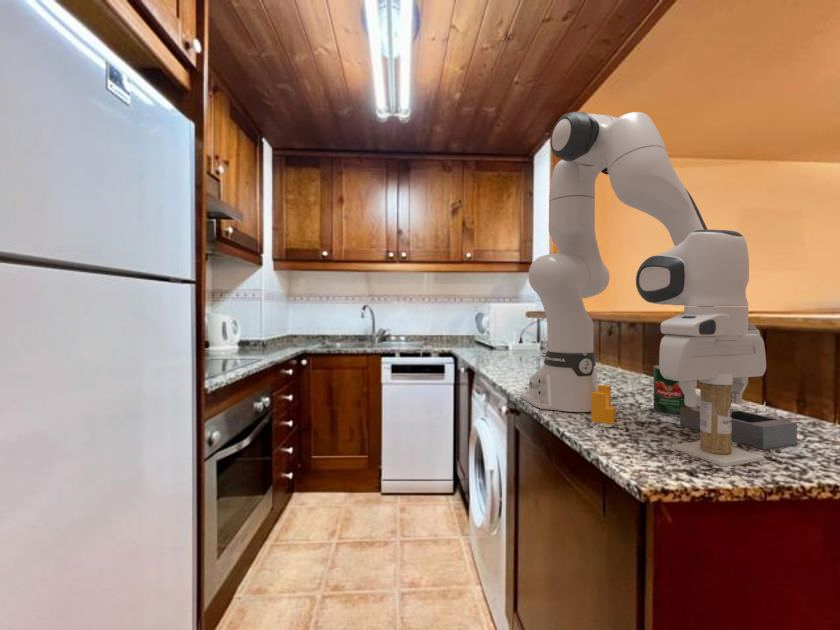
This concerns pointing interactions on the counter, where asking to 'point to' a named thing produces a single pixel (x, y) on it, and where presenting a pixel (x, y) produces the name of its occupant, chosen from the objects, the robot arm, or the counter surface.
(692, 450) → the plate
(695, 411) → the grey open box
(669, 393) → the canned tomato
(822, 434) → the counter surface
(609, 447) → the counter surface
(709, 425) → the sprinkles bottle
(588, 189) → the robot arm
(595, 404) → the orange stepped block
